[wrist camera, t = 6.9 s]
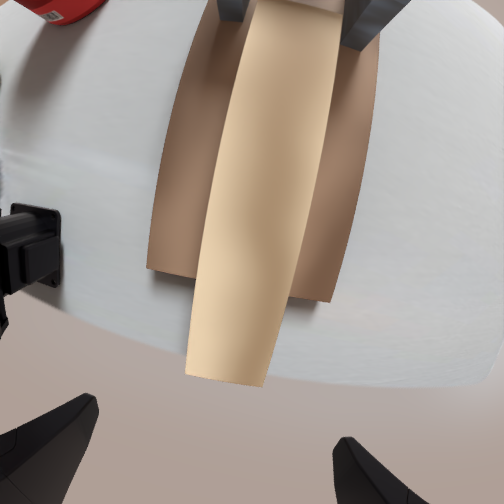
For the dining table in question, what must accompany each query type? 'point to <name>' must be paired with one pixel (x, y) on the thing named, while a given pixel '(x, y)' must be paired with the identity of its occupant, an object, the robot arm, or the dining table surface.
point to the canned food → (61, 9)
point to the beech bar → (262, 190)
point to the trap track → (211, 129)
